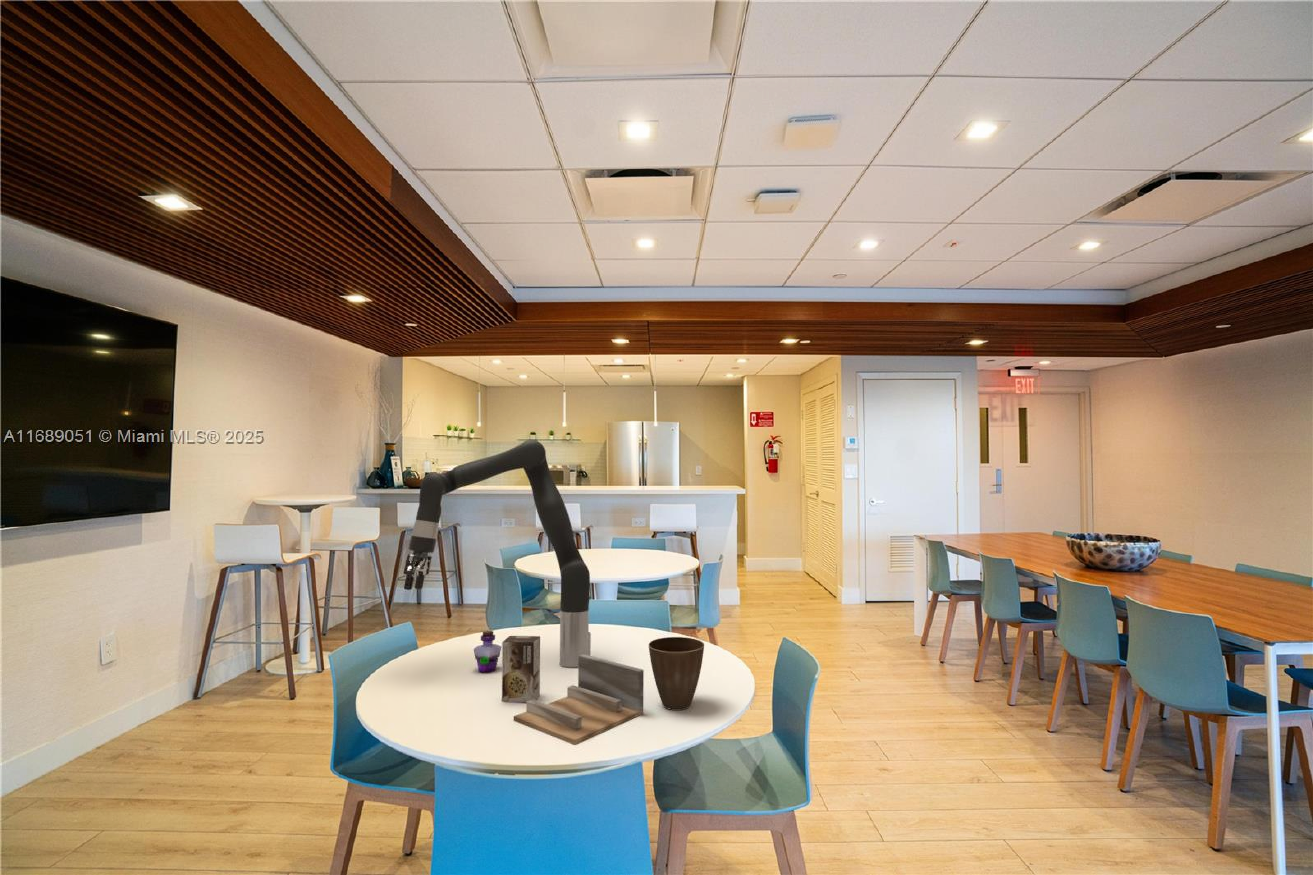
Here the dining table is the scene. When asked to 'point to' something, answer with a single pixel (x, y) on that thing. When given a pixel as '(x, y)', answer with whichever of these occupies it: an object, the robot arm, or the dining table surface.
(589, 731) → the track board
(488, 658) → the potion bottle
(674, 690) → the plant pot
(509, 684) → the coffee box
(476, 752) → the dining table surface
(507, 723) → the dining table surface
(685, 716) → the dining table surface
